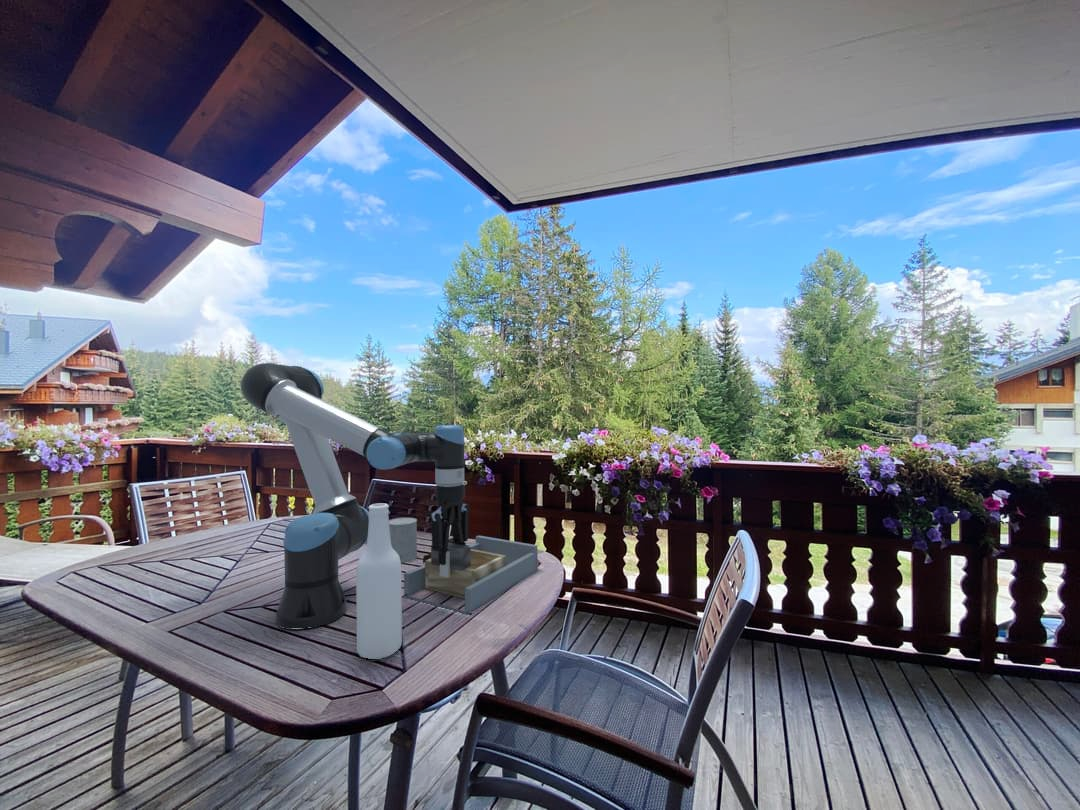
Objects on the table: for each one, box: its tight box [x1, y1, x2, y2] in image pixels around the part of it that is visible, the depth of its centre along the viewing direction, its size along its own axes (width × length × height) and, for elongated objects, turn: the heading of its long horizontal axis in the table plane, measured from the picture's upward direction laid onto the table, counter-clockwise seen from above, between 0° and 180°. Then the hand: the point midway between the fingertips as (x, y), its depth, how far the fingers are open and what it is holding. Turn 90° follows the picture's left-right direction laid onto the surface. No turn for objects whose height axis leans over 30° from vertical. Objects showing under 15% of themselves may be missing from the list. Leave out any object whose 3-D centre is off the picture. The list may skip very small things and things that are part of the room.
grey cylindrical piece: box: [389, 517, 418, 563], centre depth 153 cm, size 10×10×12 cm
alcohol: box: [355, 502, 403, 659], centre depth 95 cm, size 9×9×30 cm
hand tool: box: [422, 537, 454, 564], centre depth 153 cm, size 19×4×5 cm, turn 161°
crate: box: [424, 543, 507, 600], centre depth 125 cm, size 15×17×12 cm
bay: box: [403, 535, 539, 617], centre depth 129 cm, size 32×22×8 cm
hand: (450, 573), depth 120 cm, fingers closed on crate, 4 cm apart
